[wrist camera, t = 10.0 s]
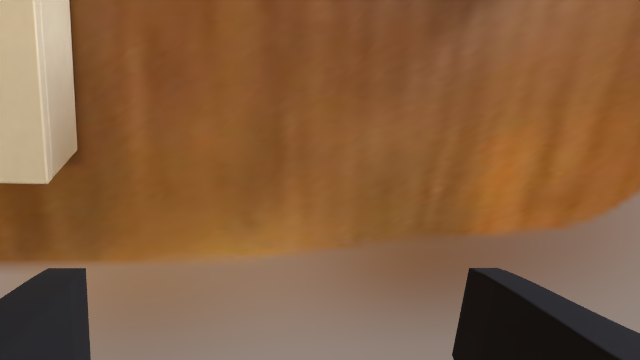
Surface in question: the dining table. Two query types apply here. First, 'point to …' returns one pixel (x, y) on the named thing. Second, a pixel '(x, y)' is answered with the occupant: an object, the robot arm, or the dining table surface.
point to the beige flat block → (35, 90)
